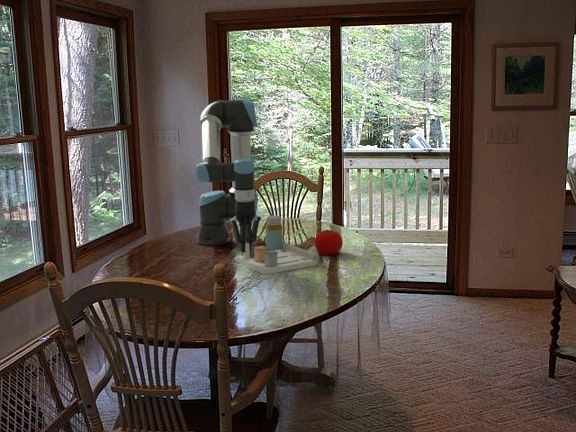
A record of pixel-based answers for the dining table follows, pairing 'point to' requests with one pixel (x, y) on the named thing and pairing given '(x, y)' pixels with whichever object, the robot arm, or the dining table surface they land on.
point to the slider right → (270, 257)
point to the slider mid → (259, 253)
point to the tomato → (328, 242)
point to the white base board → (283, 260)
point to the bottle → (273, 233)
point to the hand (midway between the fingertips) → (246, 259)
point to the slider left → (252, 249)
